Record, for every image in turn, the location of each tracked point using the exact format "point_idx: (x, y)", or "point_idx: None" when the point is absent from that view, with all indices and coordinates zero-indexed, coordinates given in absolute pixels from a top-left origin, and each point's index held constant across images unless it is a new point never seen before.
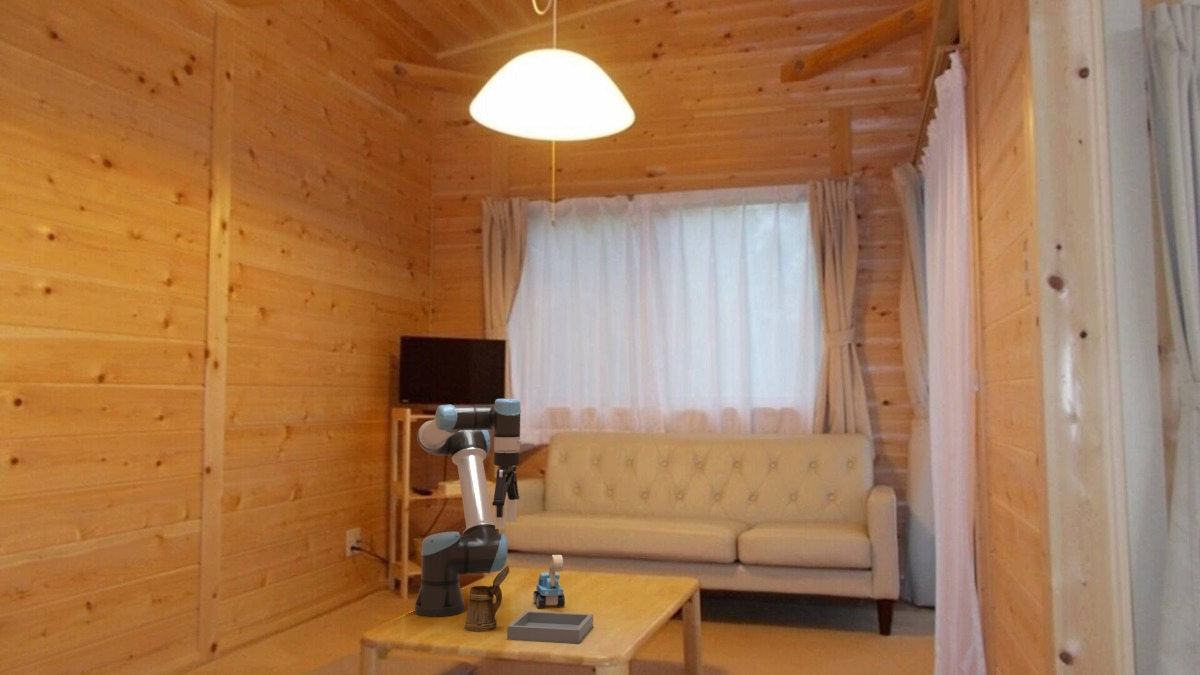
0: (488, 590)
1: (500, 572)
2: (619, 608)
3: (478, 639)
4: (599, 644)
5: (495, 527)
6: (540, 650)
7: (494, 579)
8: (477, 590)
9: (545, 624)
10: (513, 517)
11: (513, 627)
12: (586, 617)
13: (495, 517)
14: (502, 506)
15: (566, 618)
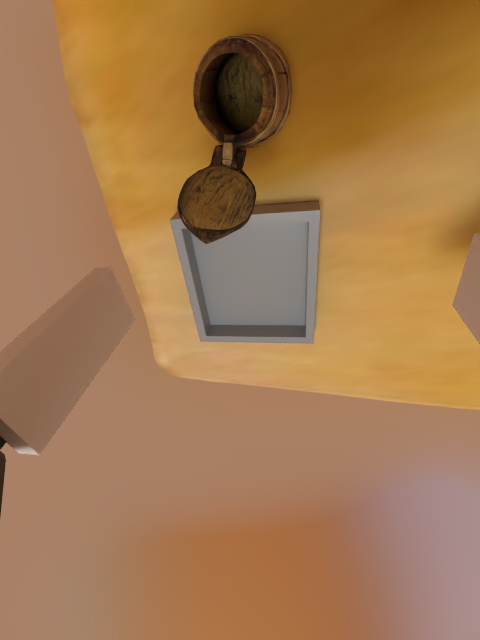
0: (220, 139)
1: (180, 217)
2: (472, 347)
3: (152, 146)
4: (213, 351)
5: (91, 274)
6: (147, 287)
7: (182, 187)
8: (194, 100)
9: (296, 254)
10: (475, 311)
11: (174, 232)
12: (287, 337)
13: (43, 315)
14: (6, 436)
15: (306, 297)
